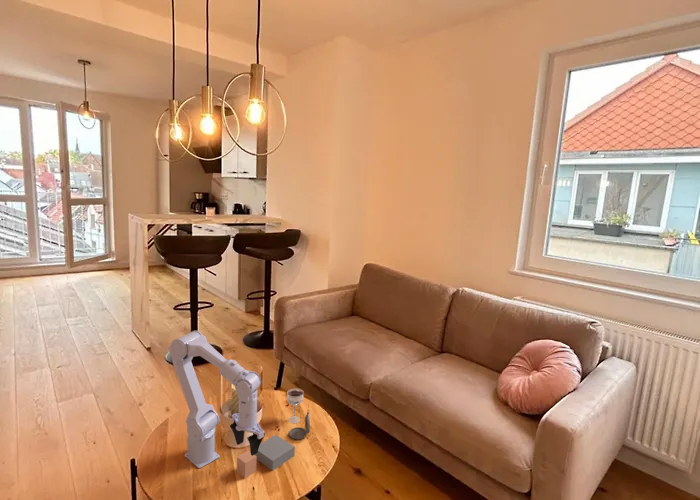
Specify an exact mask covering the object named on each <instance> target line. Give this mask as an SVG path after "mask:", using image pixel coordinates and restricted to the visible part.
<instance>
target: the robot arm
mask: <svg viewBox="0 0 700 500" xmlns="http://www.w3.org/2000/svg"><path fill="white" fill-rule="evenodd" d="M168 350H169V354H170V356H171V360H172V364H173V368H174V370H175V373H176V376H177V378H178V382H179V384H180V387H181V390H182V392H183V395H184V399H185V401H186V403H187V404H186V405H187V407H188V410H189V412H188V415H187V417H186V419H185V423H186V431H187V437H186V449H187V451H186V453H185V454H184V457H186V459H187V460H188V461H189V462H191V463H192V464H193V465H194V466H195V467H197V468H198V469H201V468H203V467H205V466H207V465H208V464H210V463H212V462H213V461H216V460H217V459H219V458H220V457H221V456H220V454H218V453H217V452H216V451H215V449H216V447H215V439H216V436H215V435H216V433H215V431H216V430H217V429H216V427H217V426H218V425H219V423H220V416H219V414H218V412H217V411H216V410H215V408H214V406H213V405H212V404H209V403H207V401H206V399H205V396H204V393H203V390H202V388H201V386H200V382H199V380H198V377H197V374H196V371H195V369H194V366H193V363H192V360H193V358H194V357H200V358H202V359H204V360H205V361H207V362H209V363H210V364H212V365H213V366H215V367H216V368H218V369H219V375H221V376H222V377H223V378H224V379H225V380H227V381H228V382H229V383H231V384H232V385H233V386H234V389H235V392H236V394H237V396H238V397H237V399H238V412H235V413H233V414H231V421H232V422H233V423H231V424H229V428H230V429H231V431H232V433H233V435H234V439H235V442H236V445H237V446H239V445H241V444H243V443H244V439H245V432H248V433H250V434H251V435H250V436H248V437H247V438H246V439H247V441H248V443H249V451H250V452H251V455H252V456H253V455H255V454H257V452H258V449H259V446H260V444H261V443H262V441H263V440H264V438H265V437H266V432H265V430H264V429H263V428H262V427H261V425H260V424H259V422H258V417H257V416H258V415H257V413H258V389H259V388H260V386H261V383H262V379H261V376H260V375H259V373H257V371H254V370H248V369H247V370H246V369H245V368H244V367H243V366H241V364H239V363H238V361H236V360H234V359H226V358H225V357H224V356H223V355H222V354H221V353H220V352H219V351H217V349H215V347H214V346H212V345H211V344H210V342H208V340H207V337H206V335H204V334H202V333H201V331H199V330H192V331H191V332H189V333H187V334H185V335H183V336H180V337H179V338H175V339H173V340H172V341H171V343H170V345H169V347H168Z"/></svg>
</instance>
